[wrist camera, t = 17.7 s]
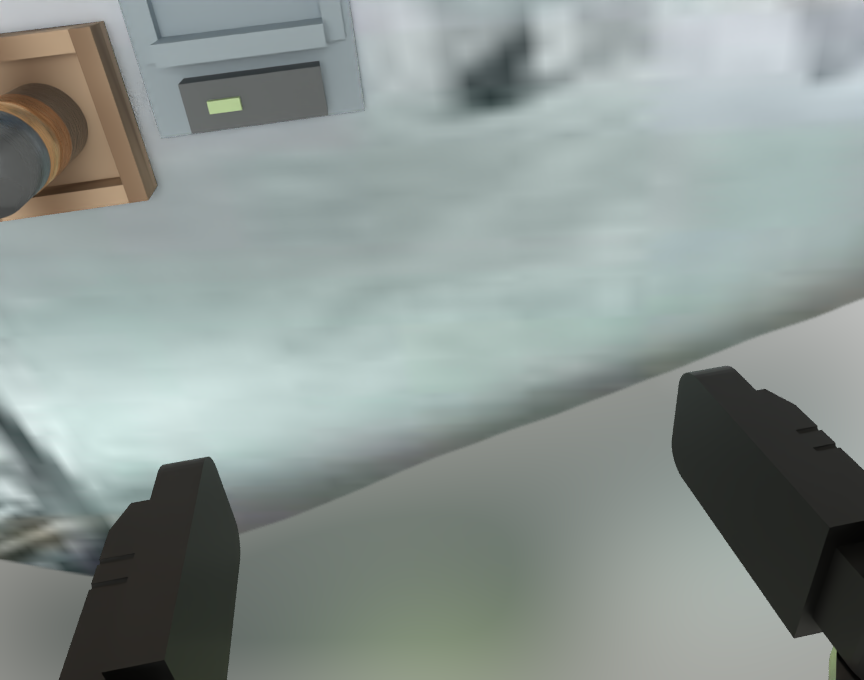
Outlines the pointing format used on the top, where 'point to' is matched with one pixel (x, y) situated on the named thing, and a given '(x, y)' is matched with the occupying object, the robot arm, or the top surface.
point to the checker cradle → (243, 61)
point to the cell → (36, 141)
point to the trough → (102, 107)
